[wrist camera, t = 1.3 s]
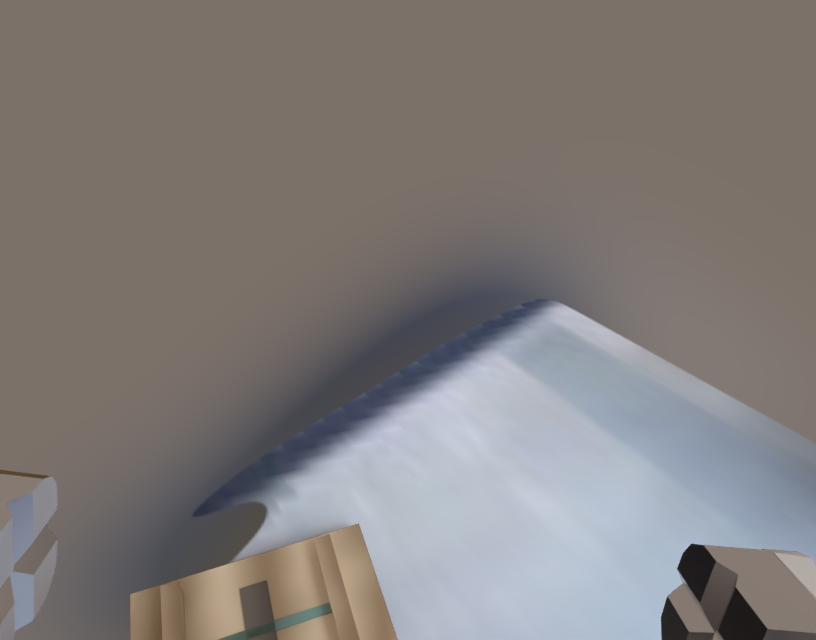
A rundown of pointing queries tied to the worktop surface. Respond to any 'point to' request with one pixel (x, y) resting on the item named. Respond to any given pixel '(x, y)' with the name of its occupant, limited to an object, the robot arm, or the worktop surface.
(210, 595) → the tan flat ridged board
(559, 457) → the worktop surface
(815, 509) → the worktop surface
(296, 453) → the worktop surface
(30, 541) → the robot arm
